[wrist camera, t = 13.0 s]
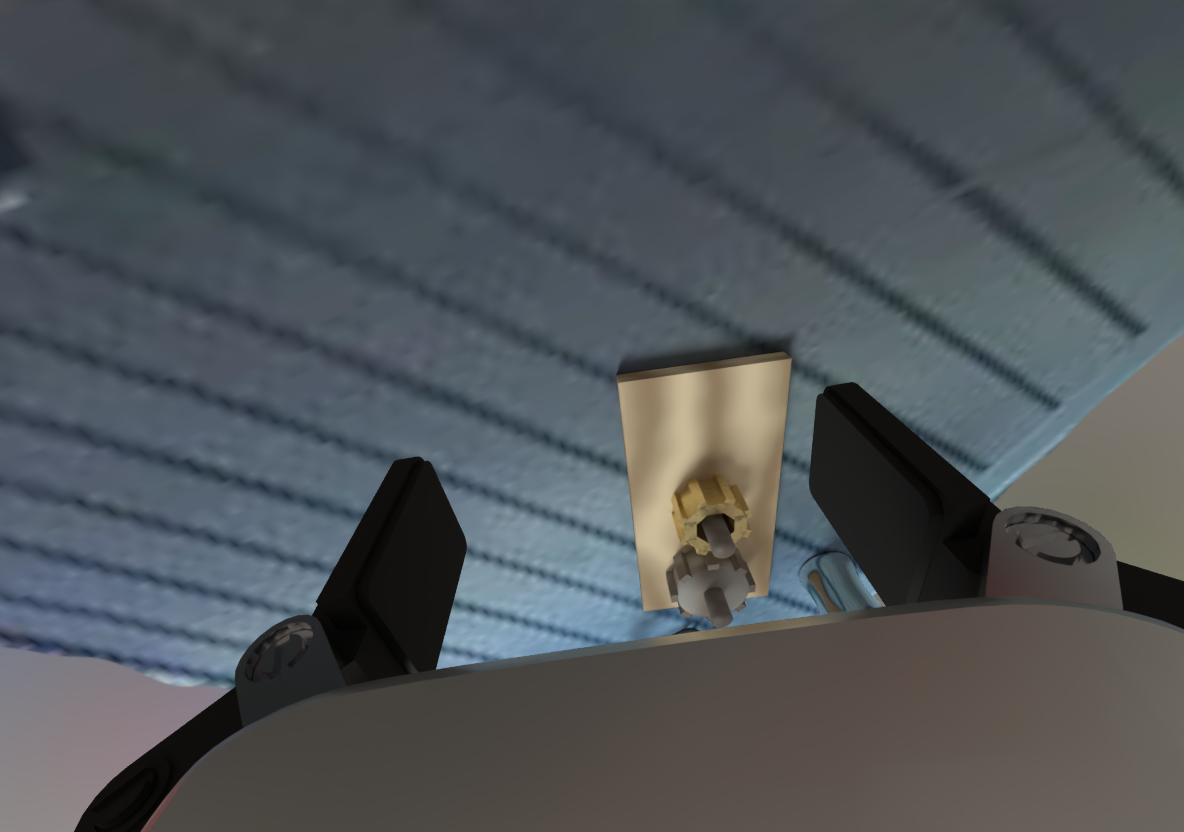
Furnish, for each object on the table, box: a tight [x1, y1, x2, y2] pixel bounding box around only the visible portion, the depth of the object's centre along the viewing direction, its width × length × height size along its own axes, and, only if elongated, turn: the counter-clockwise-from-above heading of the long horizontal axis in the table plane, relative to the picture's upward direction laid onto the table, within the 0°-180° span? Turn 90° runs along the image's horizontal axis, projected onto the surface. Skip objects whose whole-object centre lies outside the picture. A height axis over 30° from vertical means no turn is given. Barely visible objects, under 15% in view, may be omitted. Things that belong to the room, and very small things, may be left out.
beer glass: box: [799, 552, 883, 615], centre depth 45 cm, size 7×7×15 cm
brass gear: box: [671, 474, 752, 555], centre depth 42 cm, size 7×7×4 cm
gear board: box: [616, 351, 792, 627], centre depth 42 cm, size 14×29×8 cm, turn 7°
